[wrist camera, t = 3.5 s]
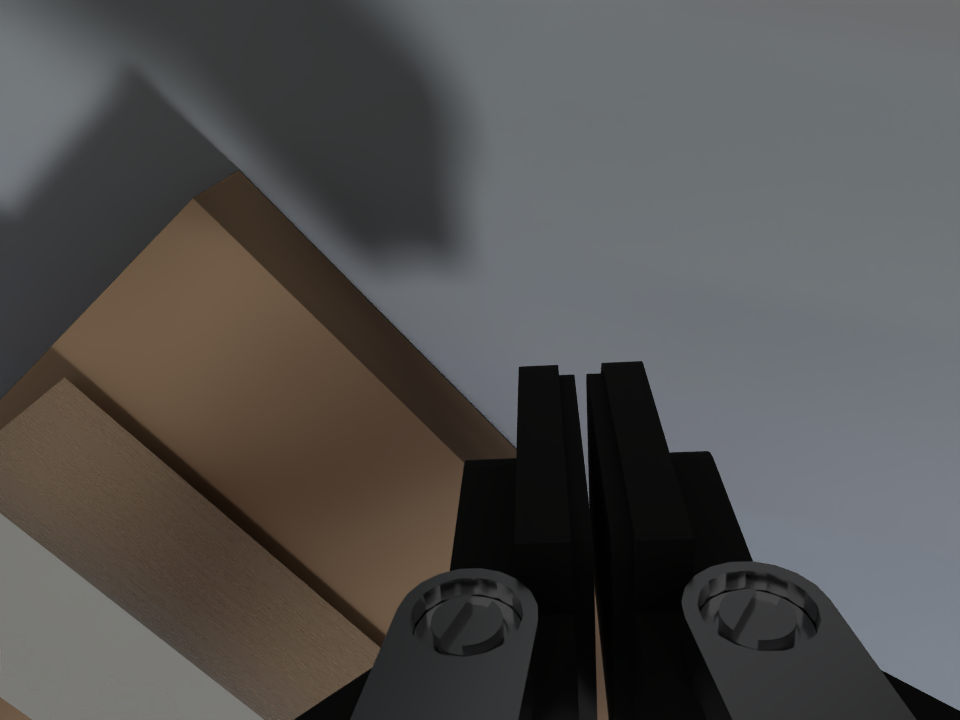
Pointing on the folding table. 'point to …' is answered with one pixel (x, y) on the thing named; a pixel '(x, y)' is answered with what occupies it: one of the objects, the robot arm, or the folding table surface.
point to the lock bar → (145, 588)
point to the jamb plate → (280, 403)
